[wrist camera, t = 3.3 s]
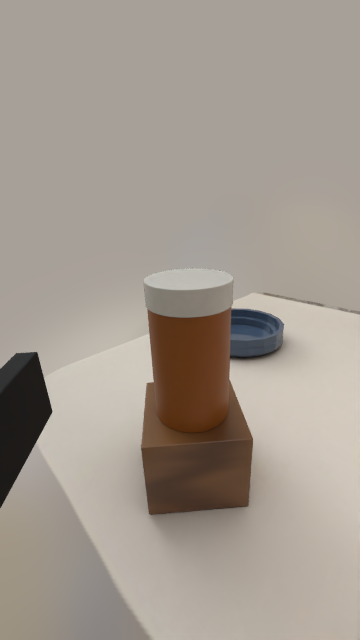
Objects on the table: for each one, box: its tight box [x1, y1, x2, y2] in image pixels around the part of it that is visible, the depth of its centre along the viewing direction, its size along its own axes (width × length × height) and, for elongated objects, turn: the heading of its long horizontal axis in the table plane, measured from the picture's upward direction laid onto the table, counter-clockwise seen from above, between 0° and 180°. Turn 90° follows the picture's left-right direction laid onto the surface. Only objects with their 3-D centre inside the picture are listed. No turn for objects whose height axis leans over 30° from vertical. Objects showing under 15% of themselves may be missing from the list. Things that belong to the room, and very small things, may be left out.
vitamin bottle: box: [144, 269, 234, 433], centre depth 22 cm, size 6×6×11 cm
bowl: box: [230, 309, 284, 357], centre depth 50 cm, size 14×15×4 cm
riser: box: [141, 380, 253, 514], centre depth 25 cm, size 8×8×7 cm
